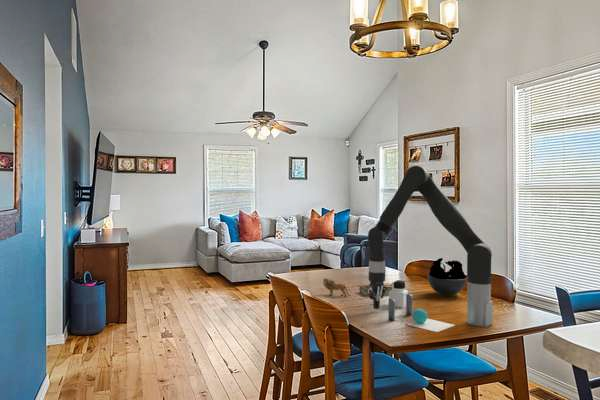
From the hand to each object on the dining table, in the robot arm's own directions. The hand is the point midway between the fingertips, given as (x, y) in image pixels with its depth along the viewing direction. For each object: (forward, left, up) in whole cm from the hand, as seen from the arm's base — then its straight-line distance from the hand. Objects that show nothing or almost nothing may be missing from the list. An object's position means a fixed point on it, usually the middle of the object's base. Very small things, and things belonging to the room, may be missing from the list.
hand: (376, 308), depth 213 cm
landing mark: (-28, 0, -2) cm, 28 cm away
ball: (-23, +1, +2) cm, 23 cm away
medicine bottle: (0, -17, -2) cm, 17 cm away
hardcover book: (+22, -33, -2) cm, 39 cm away
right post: (-13, -7, -2) cm, 15 cm away
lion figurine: (+34, -10, -2) cm, 36 cm away
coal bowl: (-4, -55, -2) cm, 55 cm away
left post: (-13, +6, -2) cm, 15 cm away
